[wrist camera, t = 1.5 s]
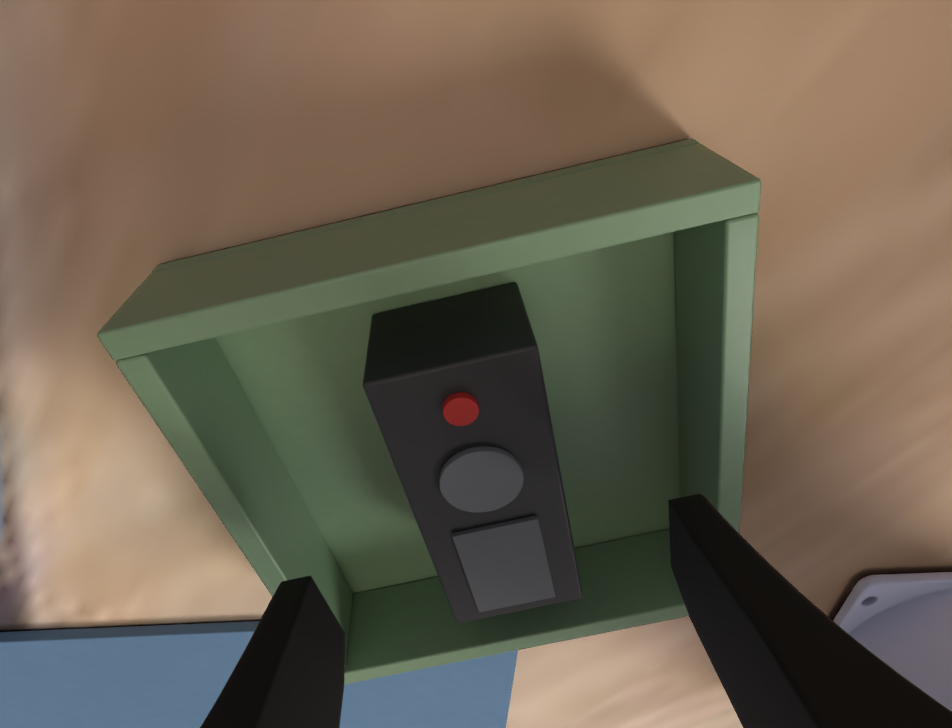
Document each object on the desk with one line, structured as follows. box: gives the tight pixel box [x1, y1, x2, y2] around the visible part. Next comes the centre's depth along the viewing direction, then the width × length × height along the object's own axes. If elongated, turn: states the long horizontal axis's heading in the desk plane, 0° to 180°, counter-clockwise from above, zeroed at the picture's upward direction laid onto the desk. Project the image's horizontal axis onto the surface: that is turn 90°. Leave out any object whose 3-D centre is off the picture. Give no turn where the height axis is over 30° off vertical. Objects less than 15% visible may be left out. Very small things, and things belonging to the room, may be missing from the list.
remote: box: [363, 283, 583, 623], centre depth 14 cm, size 8×3×3 cm, turn 12°
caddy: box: [97, 139, 761, 684], centre depth 15 cm, size 12×12×3 cm
